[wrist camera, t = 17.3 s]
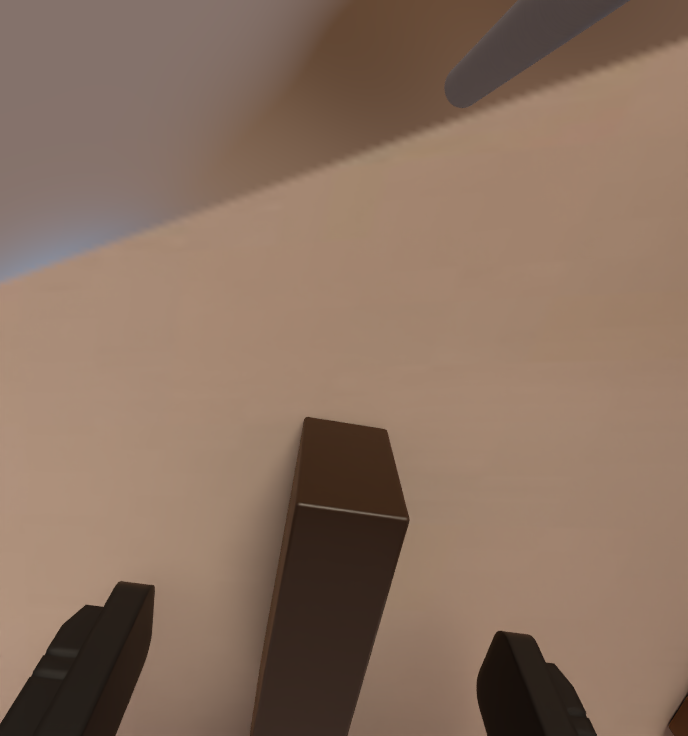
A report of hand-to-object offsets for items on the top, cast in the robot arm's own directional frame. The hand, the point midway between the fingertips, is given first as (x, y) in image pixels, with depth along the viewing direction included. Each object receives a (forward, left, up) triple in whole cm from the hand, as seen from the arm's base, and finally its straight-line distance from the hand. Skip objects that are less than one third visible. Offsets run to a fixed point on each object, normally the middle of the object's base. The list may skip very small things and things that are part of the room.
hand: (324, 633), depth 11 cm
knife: (+6, 0, -4) cm, 7 cm away
